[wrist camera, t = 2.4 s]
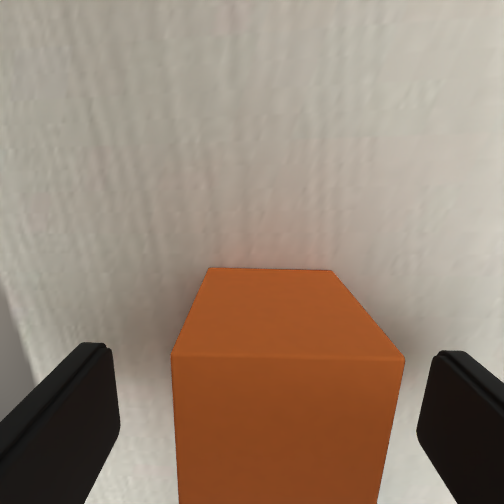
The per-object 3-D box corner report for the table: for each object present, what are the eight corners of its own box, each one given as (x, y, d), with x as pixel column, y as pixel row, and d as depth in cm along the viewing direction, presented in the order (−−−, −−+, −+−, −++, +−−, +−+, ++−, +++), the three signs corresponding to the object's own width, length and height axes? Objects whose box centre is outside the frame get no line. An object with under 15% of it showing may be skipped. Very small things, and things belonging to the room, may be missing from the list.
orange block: (208, 266, 9) (168, 353, 5) (332, 270, 9) (408, 358, 5) (210, 417, 11) (182, 585, 6) (316, 419, 11) (360, 588, 6)
